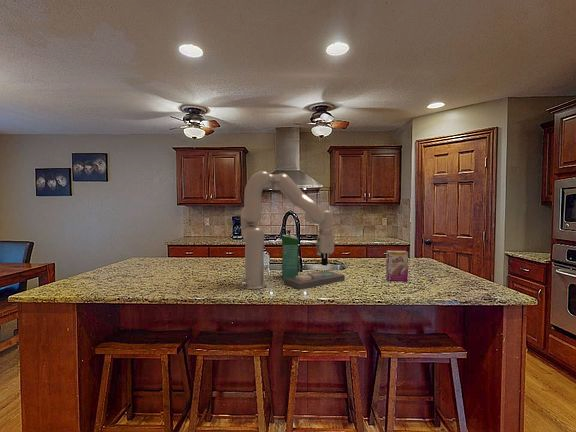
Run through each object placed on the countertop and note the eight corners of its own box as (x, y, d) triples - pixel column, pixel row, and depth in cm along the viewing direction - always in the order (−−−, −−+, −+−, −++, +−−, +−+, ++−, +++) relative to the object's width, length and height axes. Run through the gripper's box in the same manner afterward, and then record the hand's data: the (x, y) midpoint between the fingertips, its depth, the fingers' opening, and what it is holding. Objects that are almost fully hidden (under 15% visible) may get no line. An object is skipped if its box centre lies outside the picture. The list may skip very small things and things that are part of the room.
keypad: (299, 289, 160) (299, 283, 160) (283, 284, 171) (283, 278, 171) (344, 280, 179) (344, 275, 178) (327, 275, 190) (327, 270, 190)
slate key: (314, 280, 170) (314, 275, 170) (307, 278, 175) (307, 273, 175) (322, 278, 174) (322, 274, 174) (315, 276, 179) (315, 272, 179)
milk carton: (298, 279, 181) (298, 235, 180) (282, 279, 182) (282, 235, 181) (297, 275, 190) (297, 234, 189) (282, 275, 191) (282, 233, 190)
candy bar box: (387, 281, 177) (387, 251, 177) (385, 279, 182) (386, 250, 182) (408, 281, 176) (408, 252, 176) (405, 279, 181) (406, 250, 180)
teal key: (325, 280, 175) (325, 275, 175) (317, 278, 180) (317, 274, 180) (333, 278, 179) (333, 274, 179) (325, 276, 184) (325, 272, 184)
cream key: (302, 282, 166) (302, 277, 166) (295, 280, 171) (295, 275, 170) (311, 281, 169) (311, 276, 169) (304, 278, 174) (304, 274, 174)
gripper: (319, 233, 171) (318, 267, 171) (339, 232, 180) (338, 265, 180) (310, 232, 177) (309, 265, 177) (330, 231, 186) (329, 262, 186)
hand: (324, 265), depth 179 cm, fingers closed
